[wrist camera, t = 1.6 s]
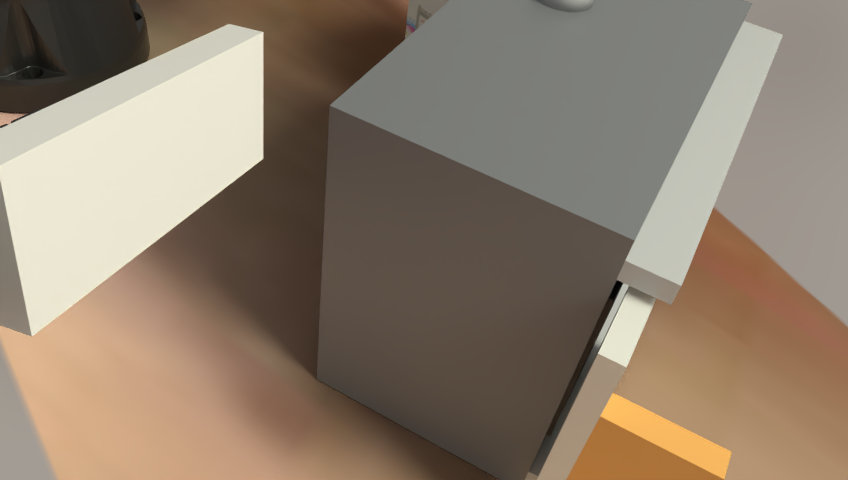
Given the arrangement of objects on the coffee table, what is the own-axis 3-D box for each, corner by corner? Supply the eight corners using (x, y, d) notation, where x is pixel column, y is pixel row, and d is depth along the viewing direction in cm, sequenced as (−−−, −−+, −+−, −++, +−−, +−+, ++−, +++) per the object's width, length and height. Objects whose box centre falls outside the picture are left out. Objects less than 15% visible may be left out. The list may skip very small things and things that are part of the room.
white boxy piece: (515, 524, 35) (597, 353, 26) (601, 342, 43) (688, 161, 34) (631, 589, 34) (762, 433, 24) (698, 389, 41) (817, 213, 32)
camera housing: (316, 379, 42) (330, 78, 28) (476, 177, 55) (539, -95, 41) (556, 511, 38) (706, 240, 25) (666, 261, 51) (803, -6, 38)
